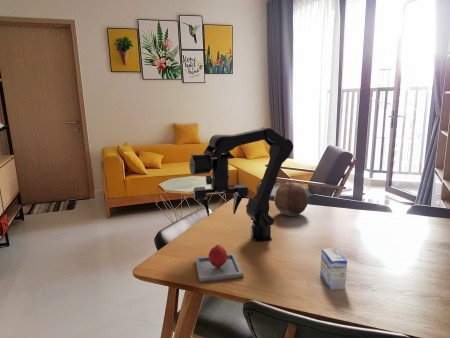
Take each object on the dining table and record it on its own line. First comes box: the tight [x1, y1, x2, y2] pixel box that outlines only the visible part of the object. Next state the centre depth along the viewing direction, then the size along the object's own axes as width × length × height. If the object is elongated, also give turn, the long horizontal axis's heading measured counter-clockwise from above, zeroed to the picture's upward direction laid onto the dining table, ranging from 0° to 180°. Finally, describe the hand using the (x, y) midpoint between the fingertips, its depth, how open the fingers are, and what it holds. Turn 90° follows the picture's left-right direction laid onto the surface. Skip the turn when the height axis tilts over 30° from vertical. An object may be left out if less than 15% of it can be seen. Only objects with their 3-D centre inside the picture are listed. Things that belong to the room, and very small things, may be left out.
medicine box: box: [319, 247, 348, 291], centre depth 92 cm, size 8×4×9 cm, turn 5°
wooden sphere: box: [273, 182, 309, 217], centre depth 146 cm, size 15×15×15 cm
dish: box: [195, 253, 244, 284], centre depth 101 cm, size 13×13×2 cm
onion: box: [208, 242, 228, 268], centre depth 100 cm, size 6×6×8 cm
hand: (221, 214), depth 115 cm, fingers open, 9 cm apart
